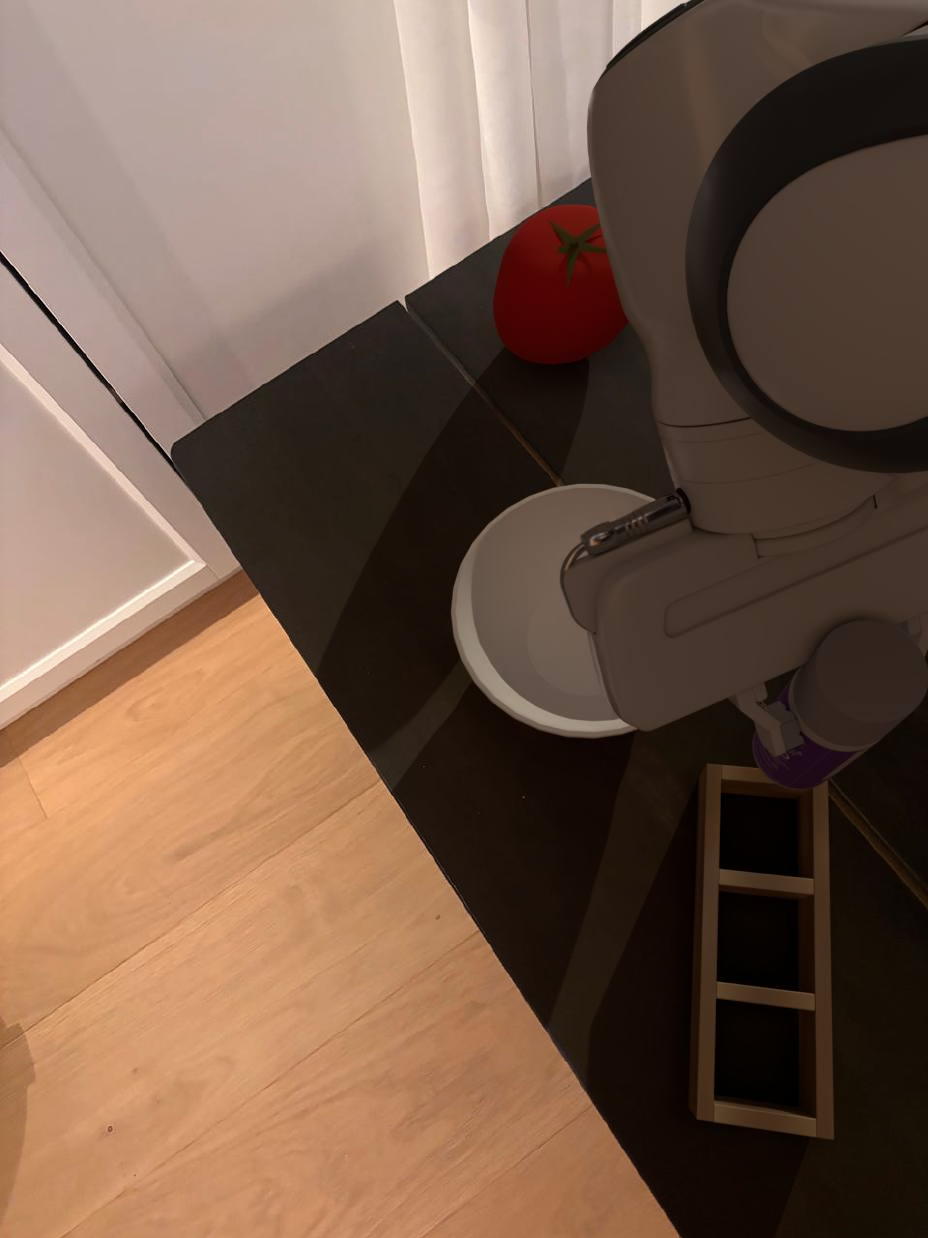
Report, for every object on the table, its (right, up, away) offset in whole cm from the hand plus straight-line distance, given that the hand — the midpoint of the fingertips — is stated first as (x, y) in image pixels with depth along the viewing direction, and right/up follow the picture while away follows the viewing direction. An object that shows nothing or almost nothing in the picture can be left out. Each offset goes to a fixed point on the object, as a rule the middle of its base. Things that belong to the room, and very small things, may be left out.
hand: (842, 719), depth 43 cm
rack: (+2, -18, +20) cm, 27 cm away
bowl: (-8, +3, +30) cm, 31 cm away
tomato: (-8, +31, +40) cm, 52 cm away
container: (+1, -3, +9) cm, 9 cm away
